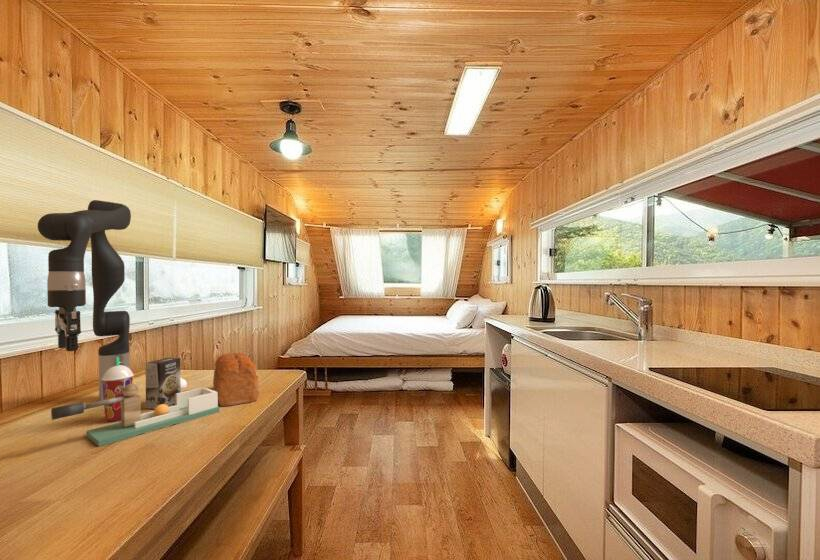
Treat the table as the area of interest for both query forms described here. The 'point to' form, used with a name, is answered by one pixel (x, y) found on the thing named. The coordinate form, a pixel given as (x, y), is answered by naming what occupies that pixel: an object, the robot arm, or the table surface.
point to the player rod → (128, 404)
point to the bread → (235, 379)
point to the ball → (161, 410)
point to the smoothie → (115, 389)
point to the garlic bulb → (183, 383)
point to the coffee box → (162, 382)
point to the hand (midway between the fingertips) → (67, 349)
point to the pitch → (161, 417)
